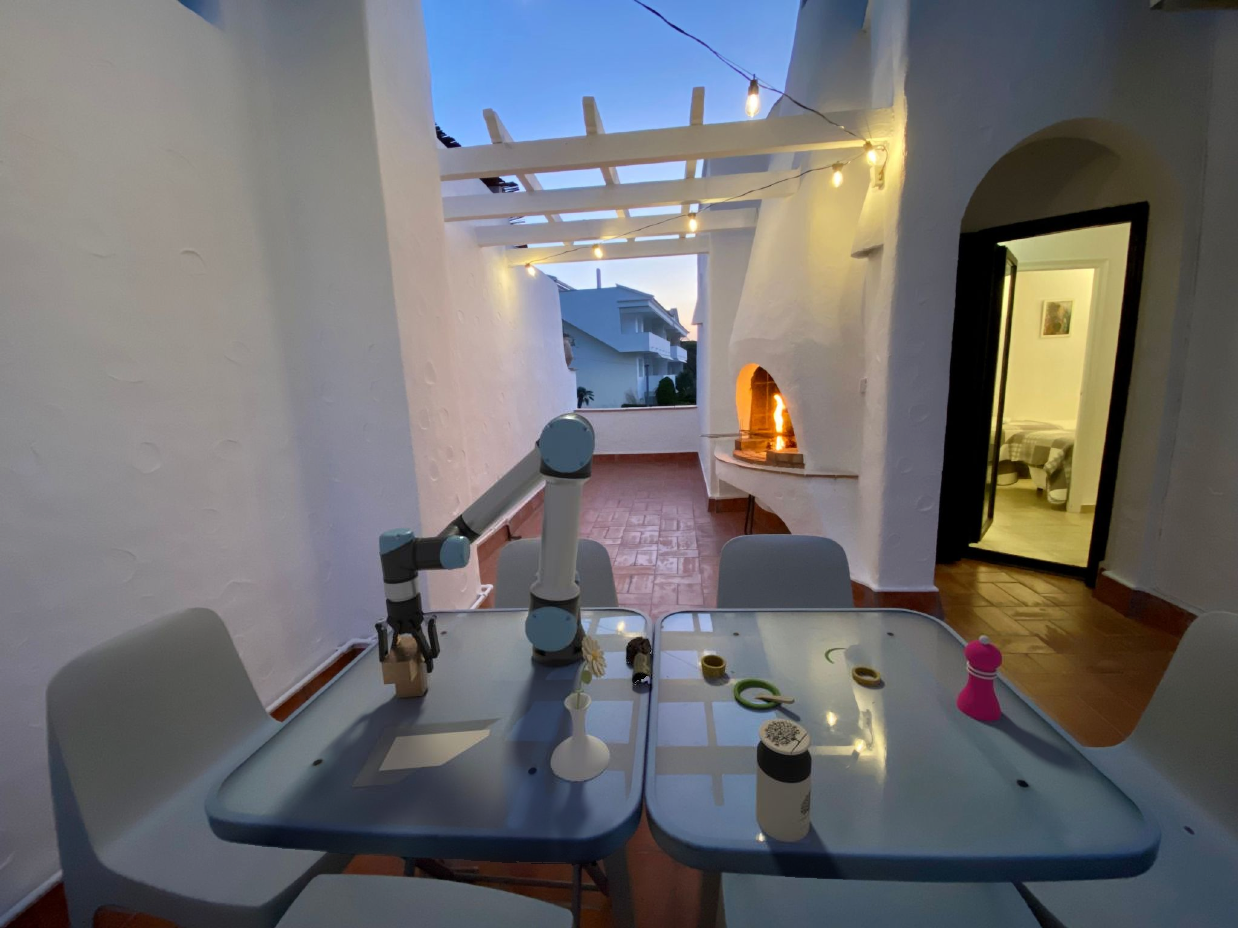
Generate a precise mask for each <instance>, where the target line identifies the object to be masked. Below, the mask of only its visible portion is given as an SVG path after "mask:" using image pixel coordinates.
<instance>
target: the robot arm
mask: <svg viewBox="0 0 1238 928" xmlns="http://www.w3.org/2000/svg"><path fill="white" fill-rule="evenodd" d="M539 436H540V437H539V438H538V439H537V440H536V441H535V442H534V448H533V449H532V450H531V451H529V452H528V453H527V454H526V455H525V456H524V457H523V458H522V459H520V461H519V462H517V463H516V464H515V465H514V466H513V467H512V468H510V470H508V471H507V472H506V473H505V474H504V475H502V477H501V478H499V479H498V480H497V481H496V482H495V483H493V485H492V486H490V488H488V489H487V490H486V491H485V492H484V493H483V494H481V495H480V496H479V497H478V498H477V499H476V500H475V501H474V502H472V503H471V504H470V506H468V507H467V508H466V509H465V510H464V511H463V512H462V513H460V514H459V515H458V516H457V517H456V518H455V519H453V520H452V521H451V522H450V523H448V524H447V526H446V527H445V528H444V529H443V530H441V531H440V532H439V533H438V534H437V535H436V536H432V537H431V536H429V537H416V535H415V533H414V530H413V529H412V528H407V527H399V528H393V529H389V530H386V531H384V532H382V533H381V534H380V535H379V537H378V543H379V544H378V546H379V548H378V549H379V553H378V555H379V557H380V558H379V559H380V563H381V565H380V566H381V572H382V580H383V588H384V590H383V591H384V597H385V598H386V599H385V607H386V613H387V617H386V618H380V619H379V620H378V621H377V622H376V623H375V624H374V628H375V630H376V632H377V641H378V660H379V663H380V664H381V663H382V662H383V661H384V659H385V658H386V657H387V655H388V654H389V652H390V651H391V650H392V648H393V647H394V646H397V645H398V643H399V642H400V639H401V637H402V635H405V634H408V635H411V637H413V638H415V640H416V643H417V645H420V649H421V653H422V655H423V657H424V660H423V662H422V669H423V677H424V686H425V688H429V686H430V685H431V682H432V676H431V675H432V674H431V673H433V670H434V660H435V659H437V658H439V657H438V656H439V654H440V653H441V647H440V642H439V637H438V632H437V626H436V623H437V620H438V619H437V618H438V617H437V614H436V615H435V614H433V615H431V616H429V615H426V614H425V612H424V611H423V603H422V594H421V592H420V591H421V586H420V579H419V578H420V576H419V571H421V572H422V571H442V570H448V571H452V570H458V569H464V568H465V567H467V565H469V563H470V559H471V545H472V544H473V543H474V542H475V541H477V540H478V539H479V538H480V537H481V536H482V535H483V534H484V533H486V532H487V531H488V530H489V529H490V528H491V527H492V526H493V525H495V524H496V523H497V522H498V521H499V520H500V519H502V518H503V517H504V516H505V515H506V514H507V513H509V511H511V510H512V509H513V508H514V507H515V506H516V505H518V504H519V503H520V502H521V501H522V500H523V499H524V498H525V497H527V496H528V495H529V494H530V493H531V492H532V491H534V490H535V489H536V488H537V487H538V486H539V485H540V484H541V483H543V481H545V484H544V485H545V486H544V498H543V499H544V500H543V512H542V522H541V523H542V524H541V535H540V546H539V547H540V548H539V560H538V571H537V572H536V573H535V574H534V580H533V583H532V584H531V585H530V589H529V600H528V601H529V602H528V610H527V611H528V614H527V616H526V619H525V621H524V632H525V636H526V638H527V640H528V642H529V643H531V644H532V649H531V651H532V652H531V653H532V659H533V661H535V662H536V663H537V664H538V665H541V666H544V667H550V668H564V667H569V666H572V665H576V664H577V663H579V662H580V660H581V659H582V660H584V659H583V658H584V657H583V651H582V647H583V646H582V641H583V638H584V637H586V636H587V634H586V631H585V629H584V626H583V624H582V614H581V613H582V612H581V594H580V593H581V589H580V582H581V579H580V575H579V574H580V573H579V572H578V570H577V569H576V568H577V557H578V547H579V536H580V535H579V534H580V525H581V515H582V503H583V494H584V493H583V492H584V484H585V483H586V482H587V481H589V480H590V479H591V476H592V468H593V460H594V459H593V458H594V453H595V448H596V442H595V438H596V435H595V430H594V428H593V425H592V424H591V422H590V421H589V420H588V419H587V418H586V417H585V416H583V415H581V414H579V413H573V412H567V413H563V414H560V415H558V416H556V417H554V418H553V419H551V420H549V422H548V423H547V424H546V425H545V426H544V427H543V429H542V431H541V434H540V435H539ZM423 622H424V624H425V627H427V630H426V631H427V635H428V640H427V637H426V638H425V636H426V635H425V634H424V631H423V627H422V623H423ZM388 626H389V627H390V628H391V629H392V630H393V631H392V632H393V633H392V640H391V645H390V648H389V640H388V639H389V638H388V637H389V636H388ZM428 641H429V642H428ZM389 649H390V650H389ZM582 660H581V661H582ZM578 661H579V662H578ZM576 662H577V663H576Z"/></svg>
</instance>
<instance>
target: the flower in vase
mask: <svg viewBox="0 0 1238 928" xmlns="http://www.w3.org/2000/svg"><path fill="white" fill-rule="evenodd" d="M582 646H583V647H582V651H583V657H584V659H583V660H584V664H583V666H582V670H581V673H580V676H579V677H580V678H579V683H578V685H579V686H578V690H575V691H572V692H571V693H569V695H568V696H567V697H566V698H565V699H564V706H565V708H566V709H567V710H568V711H569V714H570V717H571V719H572V736H570V737H567V738H566V739H564V740H562V742H561V743H559V745H557V746H556V747H555V749H554V750H553V752H552V755H551V757H550V768H552V769H551V771H552V770H553V771H554V772H555V773H554V772H553V771H552V772H553V773H554V774H555V776H557V775H558V776H559V777H561V778H564V779H567V780H571V781H570V782H573V781H578V782H585V781H588V780H591V779H593V778H596V777H597V776H599V775H600V774H601V772H602V771H603V772H604V771H605V770H606V769H607V767H608V766H607V765H609V764H608V763H610V761H609V759H610V760H611V753H609V752H610V751H609V748H608V745H606V744H605V743H604V742H603V741H602V740H601V739H599V738H597V737H595V736H593V735H590V734H587V732H586V715H587V710H588V708H589V707H590V706H591V703H592V697H591V696H589V695H588V694H587V693H583V692H584V691H585V690H582V689H581V686H582V683H584V684H585V685H590V683H591V682H592V679H593V676H594V677H595V678H596V679H598V678H599V679H601V678H602V677H604V676H605V675H606V671H605V668H607V667H608V665H607V662H606V658H605V657H604V655H605V652H604V650H603V649H601V645H600V644H598V640H597V639H594V638H592V636H591V635H590V634H589V635H586V637H584V638H583V641H582ZM586 666H587V669H586ZM606 766H607V767H606ZM604 769H605V770H604ZM603 772H602V773H603ZM558 776H557V777H558ZM559 777H558V778H559ZM561 778H560V779H561ZM564 779H563V780H564ZM567 780H566V781H567ZM584 780H585V781H584Z"/></svg>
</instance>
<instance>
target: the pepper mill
mask: <svg viewBox="0 0 1238 928" xmlns="http://www.w3.org/2000/svg"><path fill="white" fill-rule="evenodd" d="M1002 655H1003V654H1002V653H1001V651H1000V649H999V648H998V647H997V646H995V645H994V644H993V643H991V639H990V637H988V636H987V635H983V634H982V635H981V636H979V638H978V640H973V641H971V642H969V643H968V644H967V645H966V646H965V649H964V657H965V658H966V660H967V662H966V671H967V672H968V677H967V682H966V685H965V686H964V687H963V688H962V689H961V690H960V692H959V694H958V696H957V698H956V699H957V700H956V707H957V708H958V710H959V711H960V712H961V713H963V714H964V715H966V716H968V717H969V718H972V719H976V720H980V721H984V722H995V721H998V720H1000V719H1001V717H1002V713H1001V712H1002V711H1001V705H1000V702H999V700H998V698H997V696H996V692H995V688H994V687H995V686H994V682H995V679H996V678H998V672H999V670H998V668H999V667H1000V666H1001V665H1002V664H1003V656H1002Z"/></svg>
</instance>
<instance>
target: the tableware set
mask: <svg viewBox="0 0 1238 928" xmlns="http://www.w3.org/2000/svg"><path fill="white" fill-rule="evenodd" d="M846 649H847V648H845V647H834V648H830V649H828V650H826V651H825V653H824V658H825V660H826V661H828V662H829V663H831V664H834V665H835V663H834V661H832V660H831V658H830V657H829V654H830V653H831V652H834V651H837V650H846ZM700 665H701V671H702V675H704V676H705V677H706V678H707V679H713V680H714V679H720V678H722V677H723V676H724V675H725V674H726V673H725V671H726V665H727V661H726V659H725V658H724V657H722V656H720V655H718V654H713V653H711V654H707V655H704V656H702V657H701V658H700ZM860 675H867V676H870V677H872V678H865V677H862V676H860ZM851 676H852V679H853V680H854V682H855V683H858V684H860V685H863V686H868V687H874V686H877V685H879V684H880V682H881V678H882V675H881V673H880V672H878V671H877V670H876V669H874V668H872V667H868V666H864V665H856V666H853V667H852V668H851ZM748 688H762V689H765V690H766V691H769V692H770V693H771V695H770V694H763V692H759V693H758V694H757V695H756V696H755V697H754V699H755V700H761V701H762V700H763V701H764V700H765V701H770V702H768V703H761V704H760V703H754V702H750V701H747V700H746V699H745V698H743V697H741V696H742V695H741V693H742V691H744V690H745V689H748ZM732 692H733V694H734V696H735V698H736V700H737V701H738V702H740V703H741V704H743V705H744V706H746V707H748V708H751V709H752V708H753V709H756V710H758V709H759V710H767V709H771V708H774V707H776V706H777V705H778V704H779V703H781V704H786V705H787V704H788V705H792V704H794V703H795V698H794V697H793V696H792V697H791V696H783V695H782V696H781V691H780V690H779V689H778V688H777V687H776V686H775V685H774V684H773V683H771V682H769V681H766V680H764V679H757V678H745V679H742V680H739V681H737V682H736V683H735V684H734V686H733V691H732Z"/></svg>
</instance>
